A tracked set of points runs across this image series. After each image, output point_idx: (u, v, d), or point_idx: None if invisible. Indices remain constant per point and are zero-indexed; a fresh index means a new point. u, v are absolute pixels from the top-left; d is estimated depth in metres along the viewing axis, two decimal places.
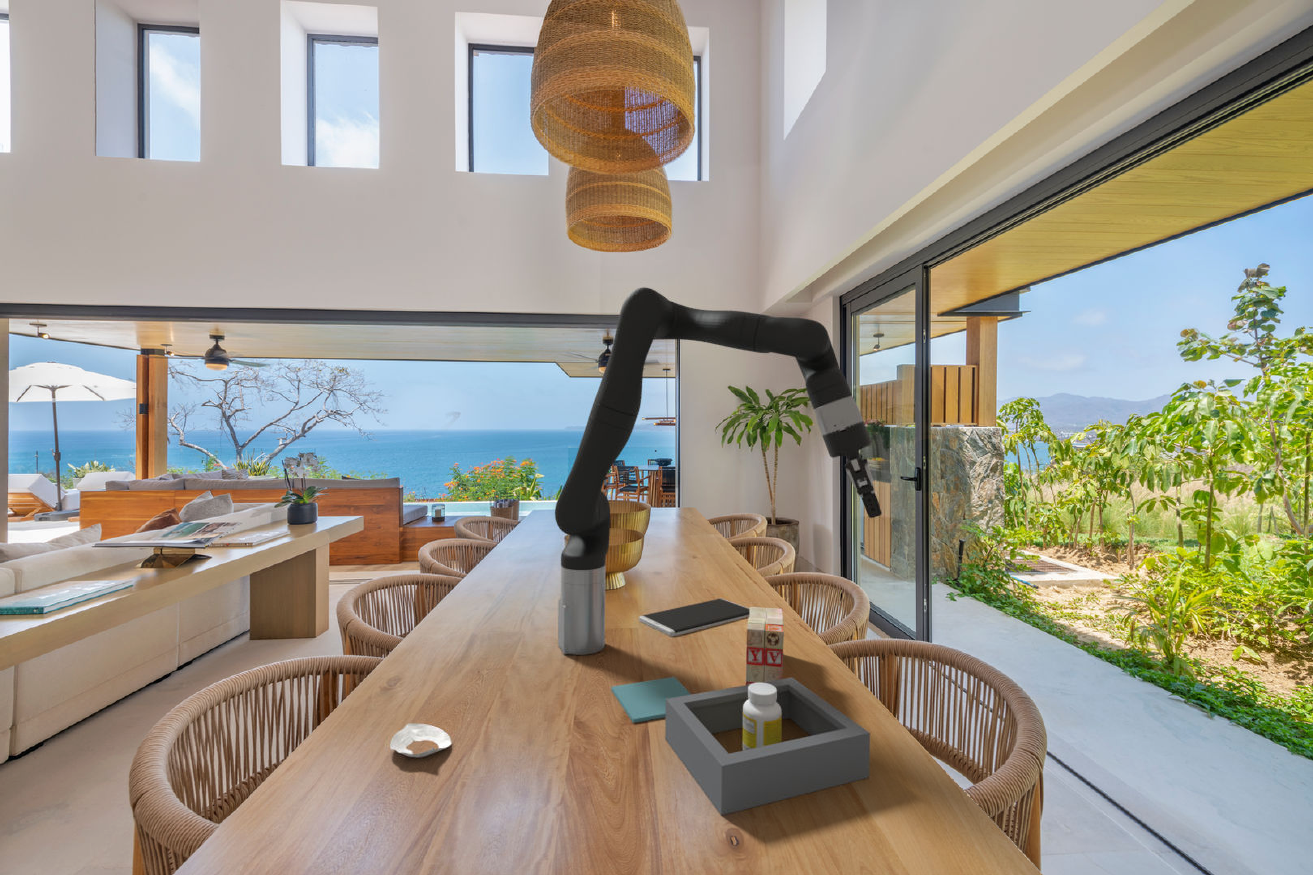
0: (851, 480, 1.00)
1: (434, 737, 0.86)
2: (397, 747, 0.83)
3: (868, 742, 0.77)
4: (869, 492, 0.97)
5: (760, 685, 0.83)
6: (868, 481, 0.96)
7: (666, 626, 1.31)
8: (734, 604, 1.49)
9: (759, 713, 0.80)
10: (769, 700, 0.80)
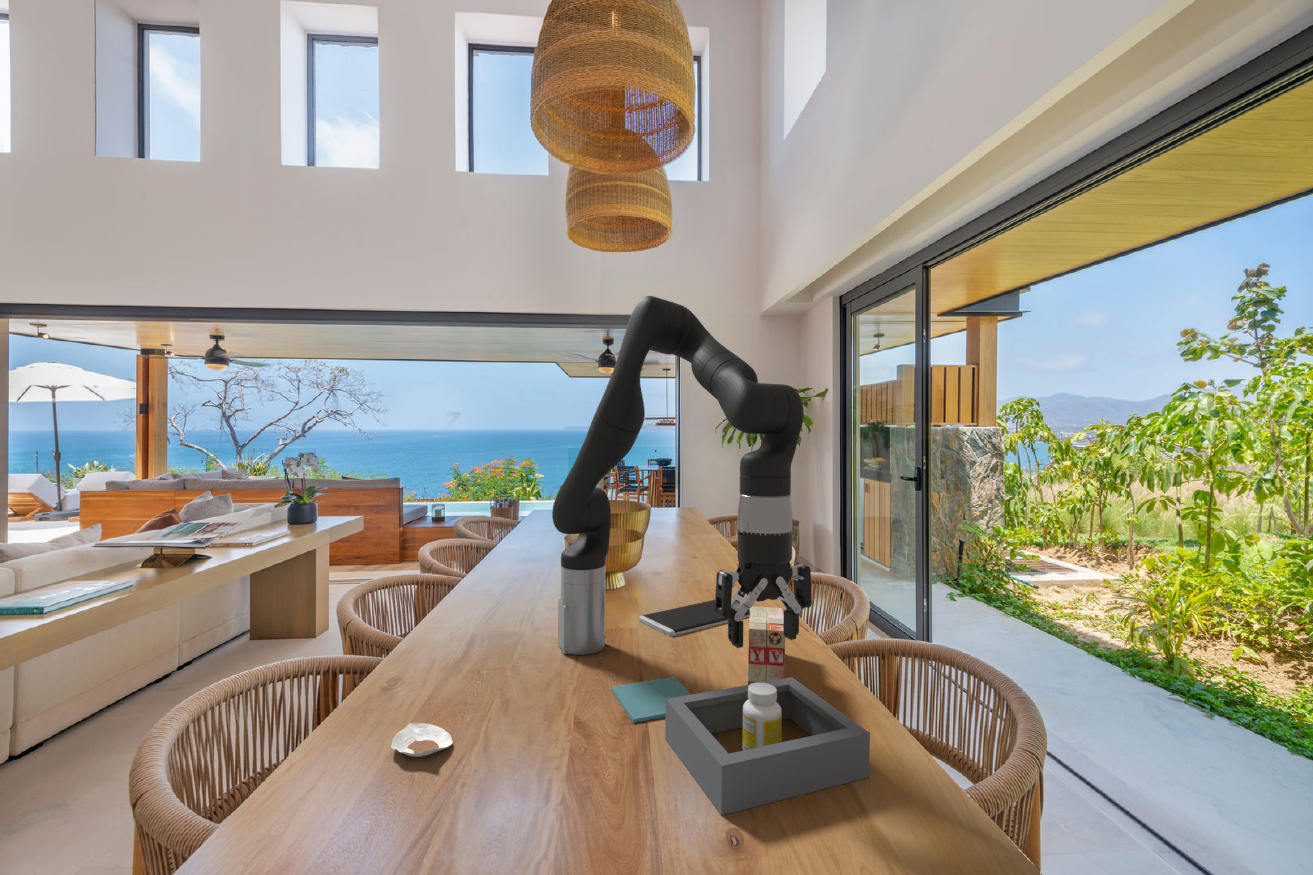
0: (736, 592, 0.82)
1: (435, 737, 0.86)
2: (399, 746, 0.83)
3: (868, 742, 0.77)
4: None
5: (760, 685, 0.83)
6: (722, 605, 0.78)
7: (665, 626, 1.31)
8: None
9: (759, 713, 0.80)
10: (769, 700, 0.80)
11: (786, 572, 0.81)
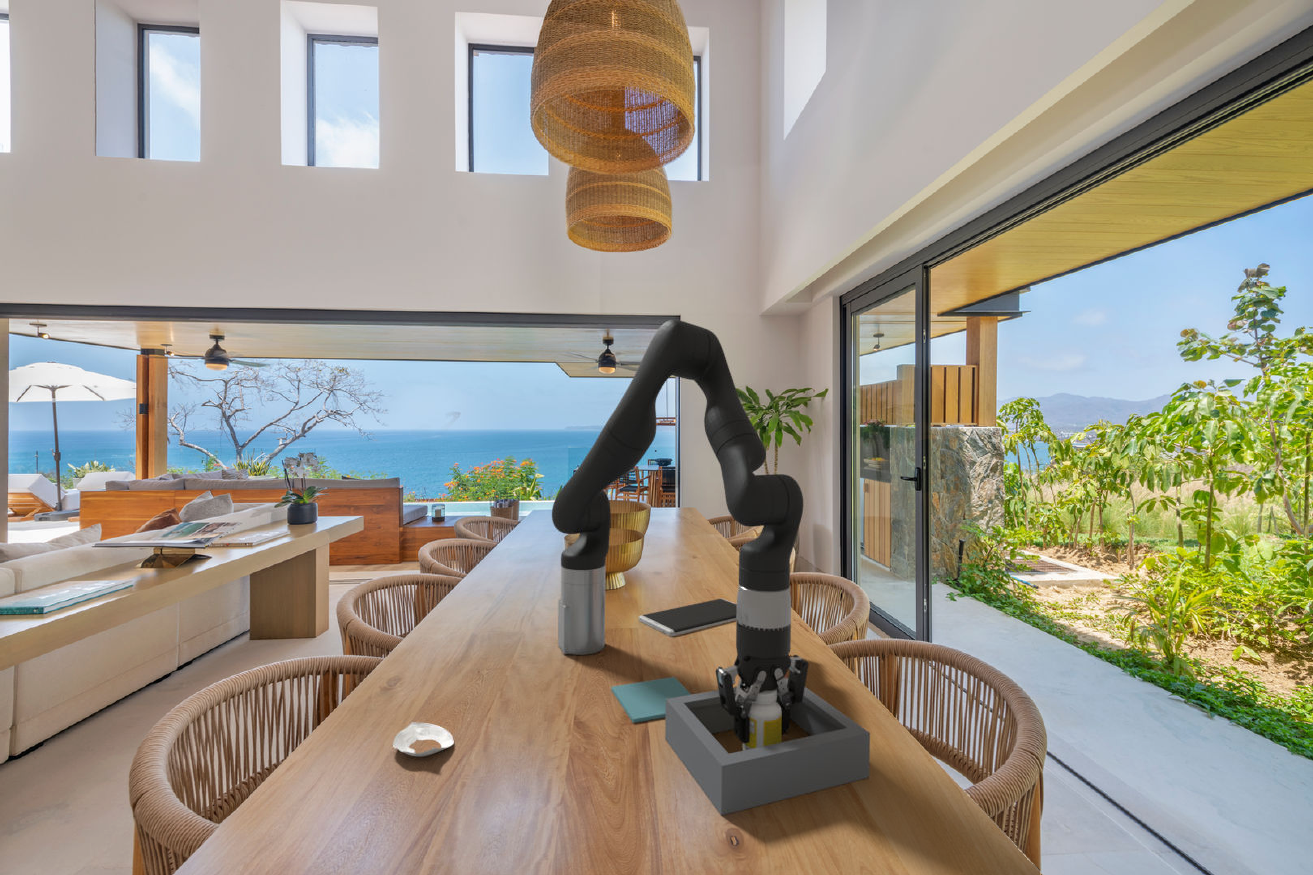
0: (738, 684, 0.82)
1: (437, 737, 0.86)
2: (400, 746, 0.83)
3: (868, 742, 0.77)
4: None
5: None
6: (727, 704, 0.79)
7: (665, 626, 1.31)
8: (734, 604, 1.48)
9: (759, 713, 0.80)
10: (769, 700, 0.80)
11: (785, 662, 0.82)
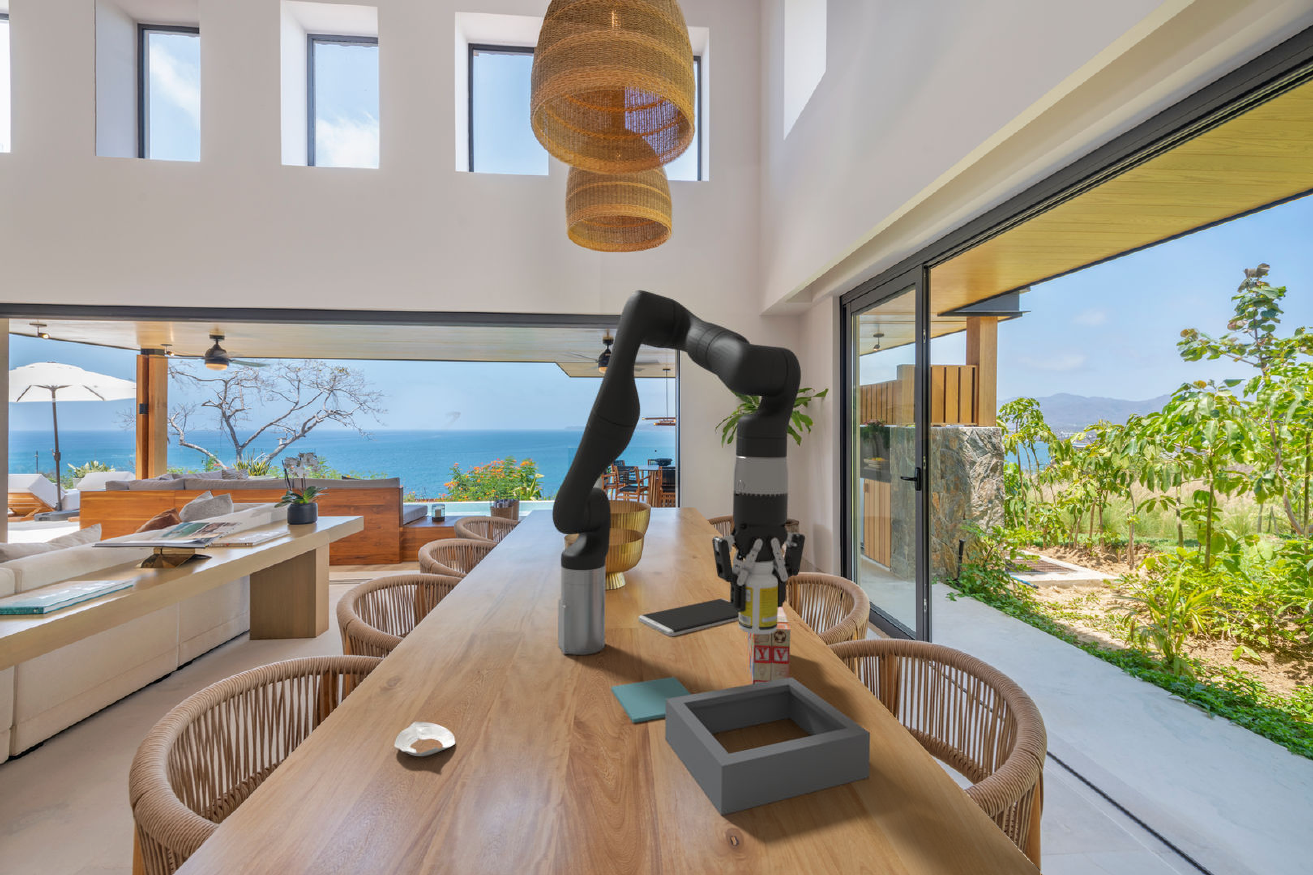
0: (734, 556, 0.82)
1: (438, 736, 0.86)
2: (402, 745, 0.83)
3: (868, 742, 0.77)
4: None
5: None
6: (723, 570, 0.79)
7: (665, 626, 1.31)
8: None
9: (755, 581, 0.80)
10: (765, 568, 0.80)
11: (781, 534, 0.82)
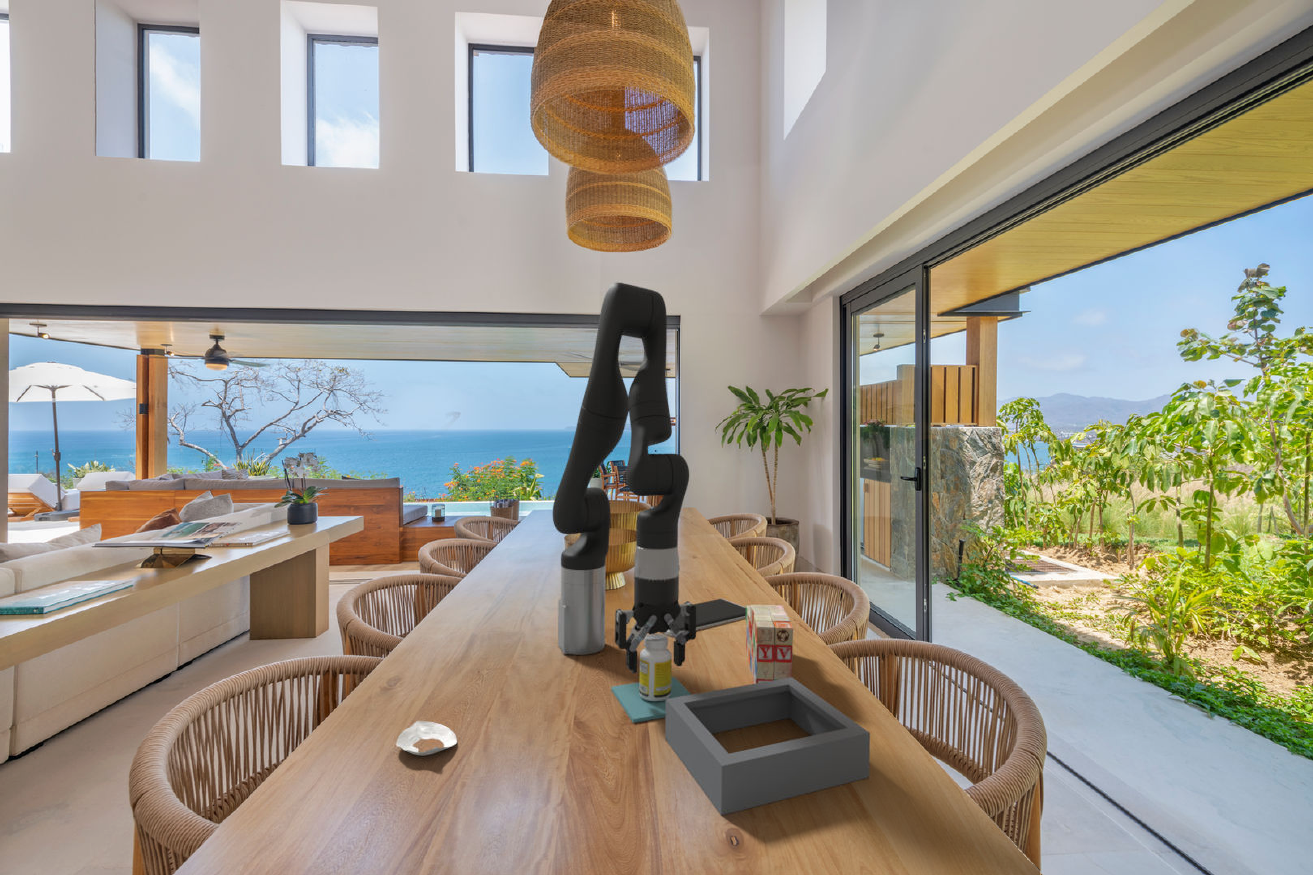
0: (633, 626, 0.99)
1: (440, 736, 0.86)
2: (404, 744, 0.83)
3: (868, 742, 0.77)
4: None
5: (655, 635, 1.00)
6: (618, 638, 0.95)
7: None
8: (734, 604, 1.48)
9: (651, 656, 0.97)
10: (660, 646, 0.97)
11: (674, 609, 0.98)
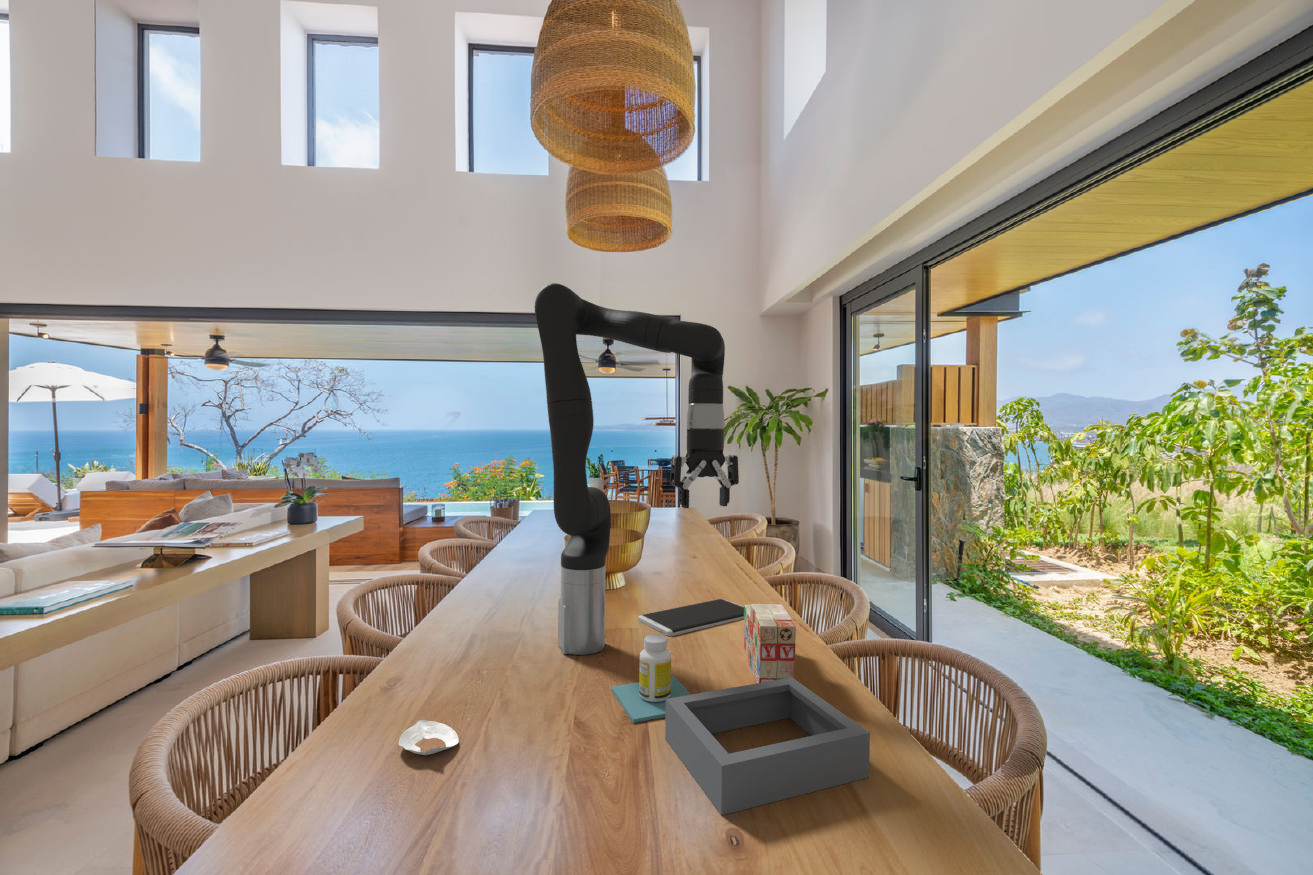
0: (685, 472, 1.18)
1: (443, 735, 0.86)
2: (406, 743, 0.84)
3: (868, 742, 0.77)
4: (676, 486, 1.15)
5: (654, 636, 1.00)
6: (674, 477, 1.14)
7: (664, 626, 1.31)
8: (735, 604, 1.48)
9: (651, 657, 0.96)
10: (660, 647, 0.97)
11: (720, 458, 1.18)
